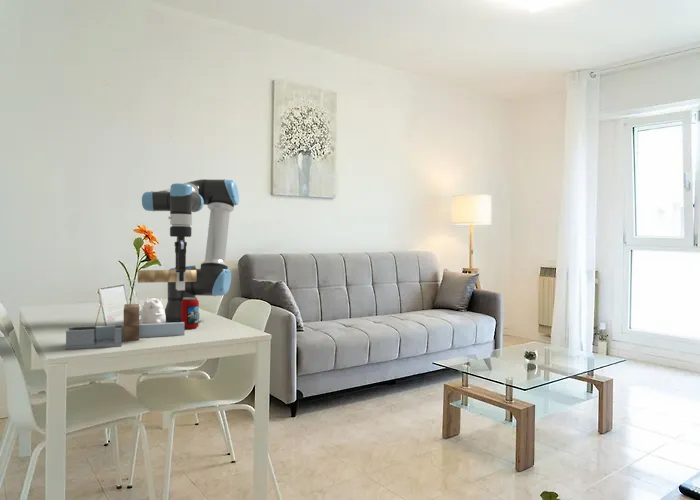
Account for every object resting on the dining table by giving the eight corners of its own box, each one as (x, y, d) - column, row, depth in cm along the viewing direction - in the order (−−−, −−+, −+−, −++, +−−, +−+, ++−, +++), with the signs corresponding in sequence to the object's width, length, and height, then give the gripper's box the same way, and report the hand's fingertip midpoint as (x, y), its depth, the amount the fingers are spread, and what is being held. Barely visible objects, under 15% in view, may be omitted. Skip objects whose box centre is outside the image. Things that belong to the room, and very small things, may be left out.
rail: (183, 333, 192) (183, 322, 192) (184, 334, 190) (184, 323, 190) (94, 338, 180) (94, 326, 180) (93, 340, 178) (93, 327, 178)
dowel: (195, 281, 193) (195, 269, 193) (196, 281, 189) (196, 269, 189) (137, 282, 185) (137, 270, 185) (137, 282, 181) (137, 270, 181)
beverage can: (193, 329, 200) (193, 299, 200) (177, 329, 202) (177, 298, 201) (201, 327, 207) (201, 297, 206) (186, 326, 208) (186, 296, 208)
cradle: (121, 341, 177) (121, 324, 177) (121, 346, 169) (121, 328, 169) (69, 344, 171) (69, 326, 171) (65, 349, 163) (65, 331, 162)
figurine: (147, 326, 207) (147, 296, 207) (170, 327, 206) (170, 297, 206) (134, 330, 197) (134, 299, 197) (158, 331, 196) (158, 300, 196)
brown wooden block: (138, 331, 195) (138, 303, 195) (139, 340, 179) (139, 309, 179) (124, 332, 193) (124, 304, 193) (123, 341, 177) (123, 310, 177)
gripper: (168, 226, 195) (167, 287, 195) (172, 225, 179) (171, 292, 179) (188, 226, 198) (188, 287, 198) (194, 225, 182) (193, 291, 182)
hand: (180, 289), depth 189 cm, fingers closed on dowel, 4 cm apart
